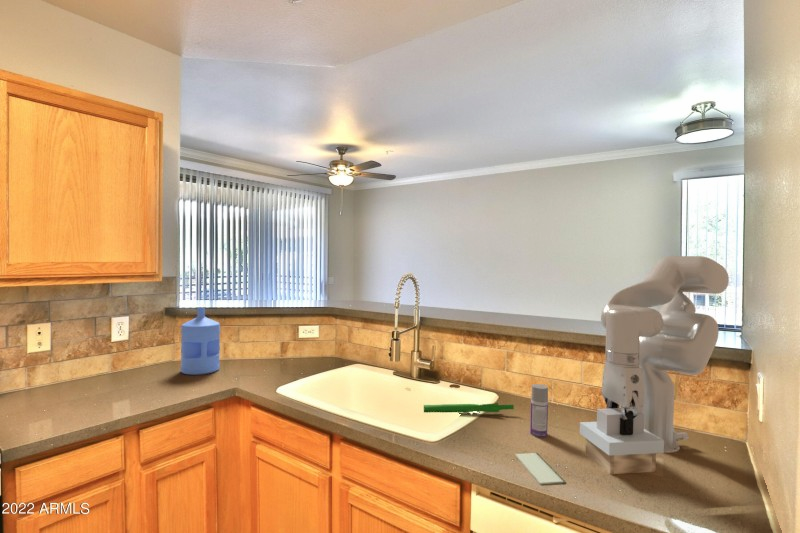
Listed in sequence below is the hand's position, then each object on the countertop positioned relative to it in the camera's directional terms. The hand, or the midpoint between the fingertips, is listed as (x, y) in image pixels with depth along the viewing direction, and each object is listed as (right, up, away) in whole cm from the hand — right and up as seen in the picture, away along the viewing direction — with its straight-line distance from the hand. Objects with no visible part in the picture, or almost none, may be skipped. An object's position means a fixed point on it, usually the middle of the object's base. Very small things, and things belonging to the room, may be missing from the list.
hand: (619, 429), depth 103 cm
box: (0, -9, 0) cm, 9 cm away
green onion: (-32, -8, +35) cm, 48 cm away
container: (-15, -9, +16) cm, 24 cm away
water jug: (-145, -6, +80) cm, 165 cm away
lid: (0, -3, 0) cm, 3 cm away
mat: (-16, -9, -1) cm, 19 cm away
